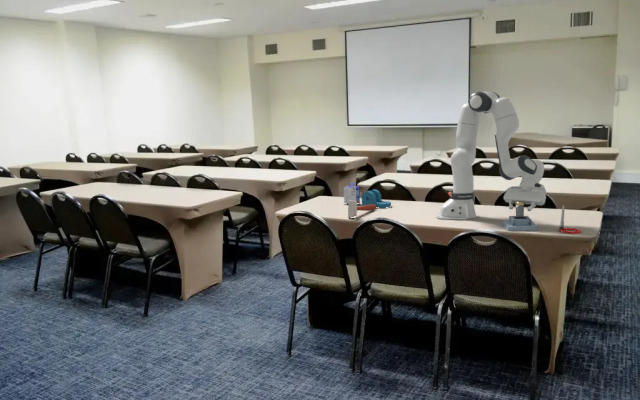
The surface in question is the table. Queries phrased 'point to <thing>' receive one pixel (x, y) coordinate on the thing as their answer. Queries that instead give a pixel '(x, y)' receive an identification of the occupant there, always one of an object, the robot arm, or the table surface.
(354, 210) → the mallet
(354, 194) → the ink cartridge box
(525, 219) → the block
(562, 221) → the tow hook
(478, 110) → the robot arm
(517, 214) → the key rod
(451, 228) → the table surface
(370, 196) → the camera mount
